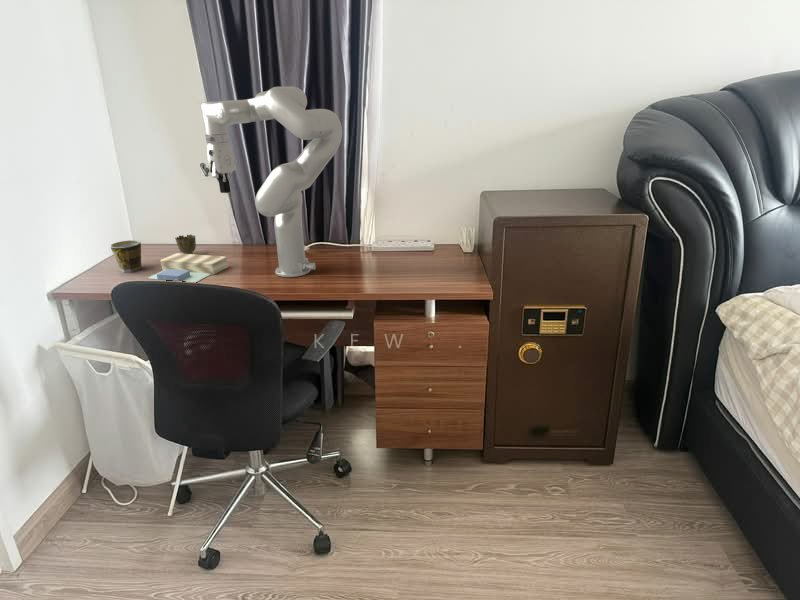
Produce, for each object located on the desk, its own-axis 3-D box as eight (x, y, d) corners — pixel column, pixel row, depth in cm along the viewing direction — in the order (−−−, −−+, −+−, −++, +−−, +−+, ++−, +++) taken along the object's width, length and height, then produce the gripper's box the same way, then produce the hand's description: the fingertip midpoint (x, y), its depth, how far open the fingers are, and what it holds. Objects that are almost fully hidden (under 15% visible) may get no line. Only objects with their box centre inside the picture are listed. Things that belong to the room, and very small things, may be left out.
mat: (211, 274, 187) (211, 273, 187) (195, 283, 179) (195, 282, 179) (164, 270, 192) (164, 269, 192) (147, 278, 184) (147, 278, 184)
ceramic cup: (123, 266, 199) (116, 240, 195) (149, 264, 199) (144, 239, 196) (108, 277, 187) (101, 250, 183) (137, 276, 187) (131, 249, 184)
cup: (198, 252, 213) (195, 233, 210) (198, 257, 207) (194, 237, 204) (179, 254, 211) (175, 235, 208) (178, 259, 205) (174, 239, 202)
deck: (228, 266, 194) (226, 256, 193) (213, 274, 186) (211, 264, 185) (178, 263, 200) (176, 253, 199) (162, 270, 192) (160, 260, 191)
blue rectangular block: (178, 276, 179) (179, 281, 180) (189, 270, 184) (190, 276, 185) (156, 274, 181) (157, 279, 182) (168, 268, 187) (169, 274, 187)
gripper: (214, 141, 173) (222, 196, 180) (238, 137, 186) (245, 189, 193) (194, 141, 175) (203, 196, 182) (220, 137, 188) (228, 188, 195)
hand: (225, 192), depth 188 cm, fingers closed
